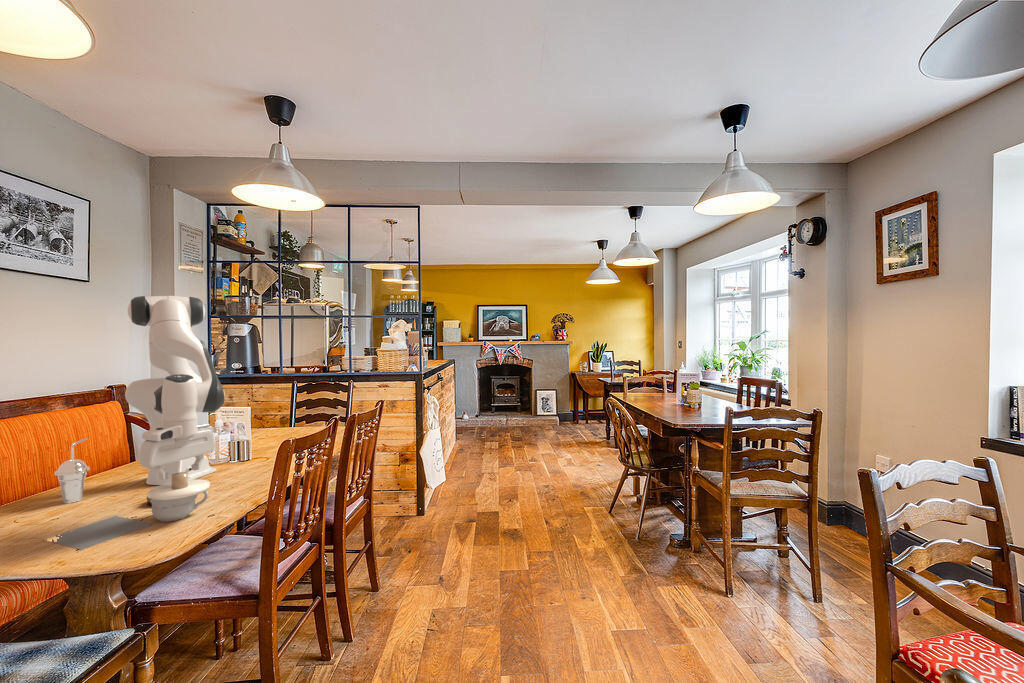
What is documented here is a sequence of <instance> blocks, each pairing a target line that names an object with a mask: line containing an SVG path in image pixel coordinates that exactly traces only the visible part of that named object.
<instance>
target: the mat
mask: <svg viewBox="0 0 1024 683" xmlns="http://www.w3.org/2000/svg"><path fill="white" fill-rule="evenodd" d="M151 525H154V523H152V522H148V521H142V520H138V519H132V518H126V517H123V516H117V515H115V516H112V517H108V518H106V519H103V520H100V521H96V522H92V523H89V524H87V525H83V526H80V527H77V528H74V529H71V530H67V531H66V532H62V534H61V533H59V534H60V536H58V534H55V535H56V537H59V539H57V542H54V540H53V539H52V542H53V544H56V545H60V546H64V547H68V548H73V549H76V550H80V551H83V550H85V549H88V548H91V547H94V546H96V545H100V544H102V543H105V542H108V541H110V540H113V539H116V538H118V537H122V536H125V535H127V534H129V533H133V532H135V531H138V530H141V529H144V528H146V527H147V528H148V527H150V526H151ZM73 530H74V531H73ZM71 531H72V532H71ZM61 536H62V537H61ZM45 539H46V538H45ZM46 540H47V539H46ZM52 542H51V543H52Z"/></svg>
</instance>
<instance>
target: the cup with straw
mask: <svg viewBox="0 0 1024 683" xmlns="http://www.w3.org/2000/svg"><path fill="white" fill-rule="evenodd" d="M88 439H89V438H88V437H85V438H83V439H79V440H77V441H75V442H72V443H71V446H70V459H68V460H66V461H63V462H62V463H61V464H59V467H58V468H57V470H56V471H54V476H56V477H57V480H58V483H59V485H60V493H61V499H62V500H63V501H62V502H63V504H72V503H71V502H74V503H77V502H76V501H78V502H80V501H82V500H83V494H84V489H85V483H86V482H85V481H86V478H87V475H88V473H87V472H89V471H90V469H91V468H90V466H88V465H87V463H86V462H85V461H84V460H82V459H78V458H75V446H76V445H78V444H80V443H83V442H85V441H87V440H88Z"/></svg>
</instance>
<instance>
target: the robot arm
mask: <svg viewBox="0 0 1024 683" xmlns="http://www.w3.org/2000/svg"><path fill="white" fill-rule="evenodd" d="M127 314H128V315H127V316H128V317H129V320H131V323H133V324H135V325H136V326H141V327H146V326H147V327H148V326H149V330H148V331H149V332H148V349H149V350H148V351H149V352H148V354H149V362H150V364H151V365H152V366H153V367H155V368H157V369H159V370H163V371H164V372H166V373H168V374H169V375H168V376H165V377H160V378H159V377H158V378H157V377H156V378H153V377H152V378H144V379H139V380H134V381H132V382H131V383H129V384H128V385H127V387H126V389H125V392H124V398H125V401H126V402H127V404H129V406H131V407H133V408H134V409H136V410H138V411H139V412H140V413H142V414H143V416H145V418H146V420H147V421H148V424H149V430H148V429H147V430H146V431H144V432H143V433H142V435H141V437H142V440H144V441H143V442H142V444H141V446H140V450H139V465H140V466H141V467H143V468H146V469H147V468H149V469H148V474H147V479H146V482H145V484H147V485H150V486H160V485H163V484H167V483H171V482H172V474H175V473H179V472H188V480H194V479H199V478H201V477H204V476H207V475H210V474H212V473H215V472H217V468H216V467H214V466H210V462H209V461H210V460H209V458H208V457H207V456H206V454H210V453H213V452H214V451H215V449H216V441H215V440H216V439H215V435H214V426H213V425H212V424H210V423H204V424H199V423H198V421H199V420H198V419H199V418H198V413H215V412H217V411H218V410H219V409H220V408H222V406H223V405H225V401H226V400H225V399H226V397H225V396H226V394H225V390H224V389H223V385H222V383H221V381H220V379H219V377H218V374H217V371H216V369H215V367H214V363H213V360H212V357H211V354H210V352H209V350H208V348H207V345H206V343H205V342H204V341H203V340H201V339H198V338H197V337H196V335H195V334H194V333H193V331H192V327H193V326H194V327H195V326H196V325H199V324H201V323H203V321H204V319H205V315H206V307H205V305H204V303H203V301H202V300H201V299H200V298H198V297H194V296H193V297H192V296H181V295H153V296H152V295H150V296H146V295H142V296H141V295H140V296H136V297H133V298H131V300H130V301H129V304H128V306H127ZM189 361H190V362H193V363H194V364H195V365H196V366H197V370H198V372H199V375H200V376H199V375H198V374H197V373H196V372H194V370H193V369H192V368H191V366H190V364H189Z"/></svg>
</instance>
